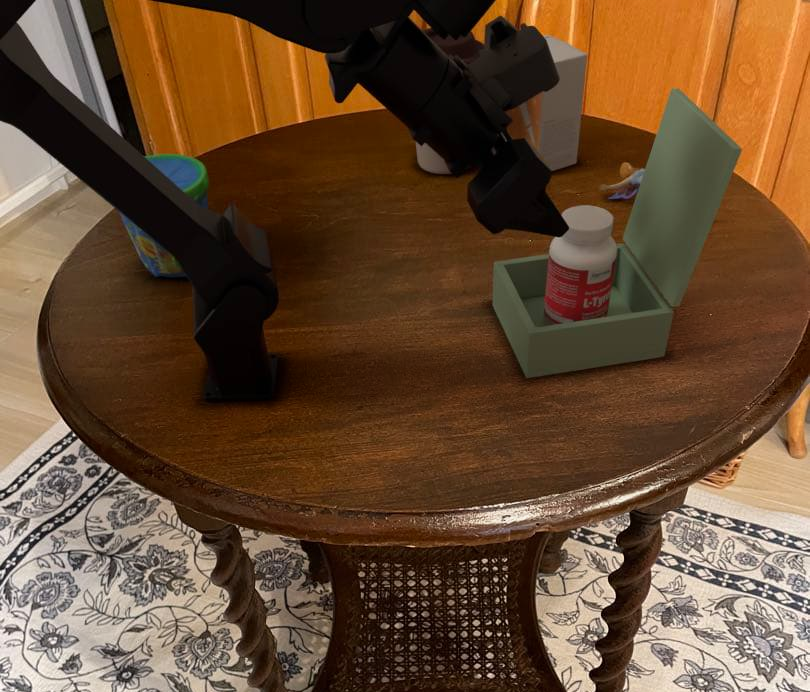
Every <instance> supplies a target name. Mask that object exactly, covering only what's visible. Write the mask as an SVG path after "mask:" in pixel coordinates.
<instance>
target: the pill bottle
mask: <svg viewBox="0 0 810 692" xmlns="http://www.w3.org/2000/svg"><path fill="white" fill-rule="evenodd" d="M561 215H562V217H563V218H564V220H565V221H566V223H567V224H568V226H569V230H568V231H567V232H566V233H565V234H564V235H563V236H562V237H560V238H559V237H553V239H552V240H551V243H550V245H549V250H548V254H549V259H548V271H547V282H546V293H545V304H544V316H543V319H544V323H545V325H546V326H549V325H556V324H563V323H569V322H576V321H583V320H589V319H596V318H603V317H607V315H608V308H609V302H610V295H611V288H612V282H613V275H614V269H615V263H616V256H617V246H616V244H617V242H616V241H615V239H614V238H613V237H612V233H613V225H614V216H613V214H612V213H611V212H610V211H608V210H607V209H605V208H603V207H601V206H595V205H587V204H583V205H575V206H571V207H568V208H567V209H565V210H563V211H562V212H561Z"/></svg>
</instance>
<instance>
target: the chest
mask: <svg viewBox="0 0 810 692" xmlns="http://www.w3.org/2000/svg"><path fill="white" fill-rule="evenodd" d="M616 246H617V256H616V263H615V269H614V275H613V282H612V288H611V295H610V302H609V308H608V315H607V317H603V318H596V319H589V320H583V321H576V322H569V323H563V324H556V325H549V326H546V325H545V323H544V319H543V316H544V304H545V293H546V282H547V271H548V259H549V253H547V254H546V253H545V254H539V255H532V256H524V257H518V258H510V259H503V260H498V261H493V273H492V274H493V275H492V277H493V279H492V281H493V282H492V303H491V304H492V307H493V310H494V312H495V315H496V316H497V318H498V320H499V322H500V325H501V327H502V330H503V331H504V334H505V336H506V339H508V342H509V344H510V347H511V349H512V351H513V352H514V355H515V357H516V359H517V361H518V364H519V365H520V368H521V370H522V372H523V374H524V376H525V379H531V378H537V377H543V376H551V375H556V374H562V373H569V372H576V371H582V370H588V369H594V368H601V367H607V366H613V365H620V364H621V365H622V364H627V363H633V362H634V363H635V362H639V361H646V360H653V359H659V358H665V355H666V350H667V346H668V341H669V337H670V332H671V327H672V322H673V319H674V315H675V314H674V313H675V311H674V309H673V307H671V306H670V304H669V303H668V301H667V300H666V299H665V297H664V296H663V294H662V293H661V292H660V290H659V289H658V287H657V286H656V285H655V283H654V282H653V280H652V279H651V278H650V276H649V275H648V273H647V272H646V271H645V269H644V268H643V266H642V265H641V264H640V262H639V261H638V259H637V258H636V257H635V255H634V254H633V252H632V251H631V250H630V248H629V247H628V245H627V244H626V243H625V242H624V243H623V242H622V243H616Z"/></svg>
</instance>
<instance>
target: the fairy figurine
mask: <svg viewBox="0 0 810 692" xmlns="http://www.w3.org/2000/svg"><path fill="white" fill-rule="evenodd" d="M644 171H645V168H641V167H634V166H633V165H632V164H631V163H630V162H625V161H624V162H623V163H622V164H621V166H620V168H619V174H620V177H621V178H622V179H623V181H621V182H618V183H615V184H611V185H607V184H605V183H602V184H600V185H599V187H598V191H606V190H618V189H619V188H620V189H619V191H617V192H616V193H615V194H613V195H612V196H610V197H607V199H608V200H615V199H622V198H623V199H625V200H628V199H630V198H632V197H633V196H634V195H635V194H637V193H638V190H639V187H640V184H641V181H642V177H643V174H644ZM627 185H628V187H627ZM630 187H631V188H633V187H635V190H634V189H632V193H631V190H629V189H630ZM622 190H625V191H622ZM620 191H621V192H622V193H621V194H620ZM623 192H624V193H623ZM627 193H629V194H627Z"/></svg>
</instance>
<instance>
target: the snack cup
mask: <svg viewBox="0 0 810 692" xmlns="http://www.w3.org/2000/svg"><path fill="white" fill-rule="evenodd" d="M144 157H145V158H146V159H147V160H149V161H150V162H151V163H152V164H153V165H154V166H155V167H156V168H158V169H159V170H160V171H161V172H162V173H163V174H164V175H165V176H166V177H168V178H169V179H170V180H171V181H172V182H173V183H174V184H175V185H177V186H178V187H179V188H180V189H181V190H182V191H183V192H184V193H186V194H187V195H188V196H189V197H190V198H191V199H192V200H193V201H195V202H196V203H197V204H198V205H199V206H201V207H202V208H204V209H206V210H209V202H208V189H209V187H210V182H209V181H210V180H209V175H208V170H207V167H206V166H205V164H204V163H203V162H202V161H201V160H198V159H197V158H195V157H193V156H189V155H185V154H178V153H160V154H159V153H158V154H152V155H146V156H144ZM118 213H119V216H120V218H121V220H122V223H123V224H124V226H125V228H126V231H127V233H128V235H129V237H130V240H131V242H132V243H133V245H134V248H135V250H136V252H137V255H138V256H139V258H140V260H141V262H142V264H143V265H144V267H145V268H146V269H147V271H149V272H150V273H151V274H152V275H153V276H154V277H156V278H158V277H164V278H172V279H173V278H181V277H182V278H187V277H186V275H185V273H184V272H183V270H182V269H181V267H180V266H179V264H178V263H177V261H176V260H175V258H174V257H173V256H172V255H171V254H170V253H169V252H168V251H167V250H165V249H164V248H163V247H162V246H160V245H159V244H158V243H157V242H156V241H154V240H153V239H152V238H151V237H150V236H148V235H147V234H146V233H145V232H143V231H142V230H141V229H140V228H139V227H137V226H136V225H135V224H134V223H132V222H131V221H130V220H129V219H128V218H126V217H125V216H124V215H123V214H121V213H120V212H119V211H118Z"/></svg>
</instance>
